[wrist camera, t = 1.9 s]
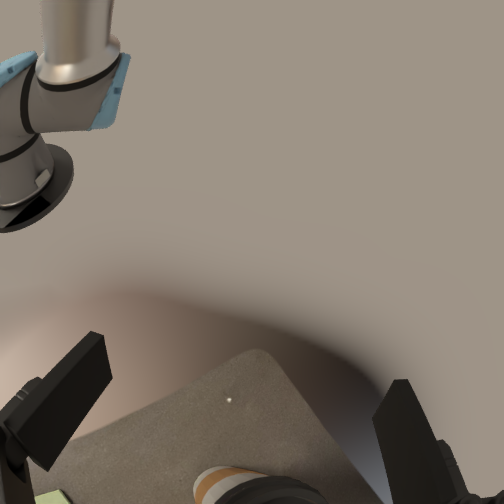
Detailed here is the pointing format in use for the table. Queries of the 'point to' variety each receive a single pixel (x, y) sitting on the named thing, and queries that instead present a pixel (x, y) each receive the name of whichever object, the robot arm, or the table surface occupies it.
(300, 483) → the coffee cup
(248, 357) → the table surface
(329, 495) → the table surface
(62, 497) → the place mat
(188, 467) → the table surface
